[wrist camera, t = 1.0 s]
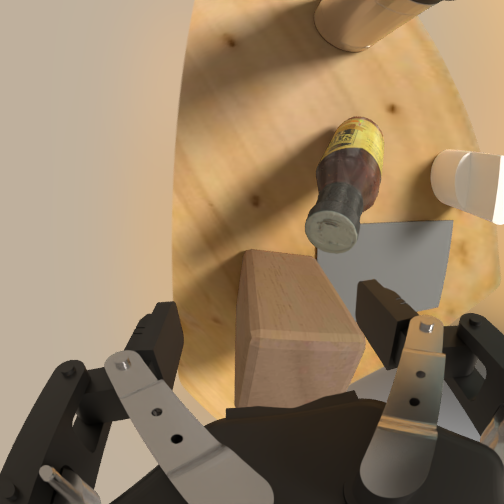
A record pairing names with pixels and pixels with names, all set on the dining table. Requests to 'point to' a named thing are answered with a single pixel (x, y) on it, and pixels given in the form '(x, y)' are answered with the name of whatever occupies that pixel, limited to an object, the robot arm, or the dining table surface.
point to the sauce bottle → (346, 185)
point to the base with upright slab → (470, 182)
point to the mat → (393, 261)
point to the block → (291, 333)
